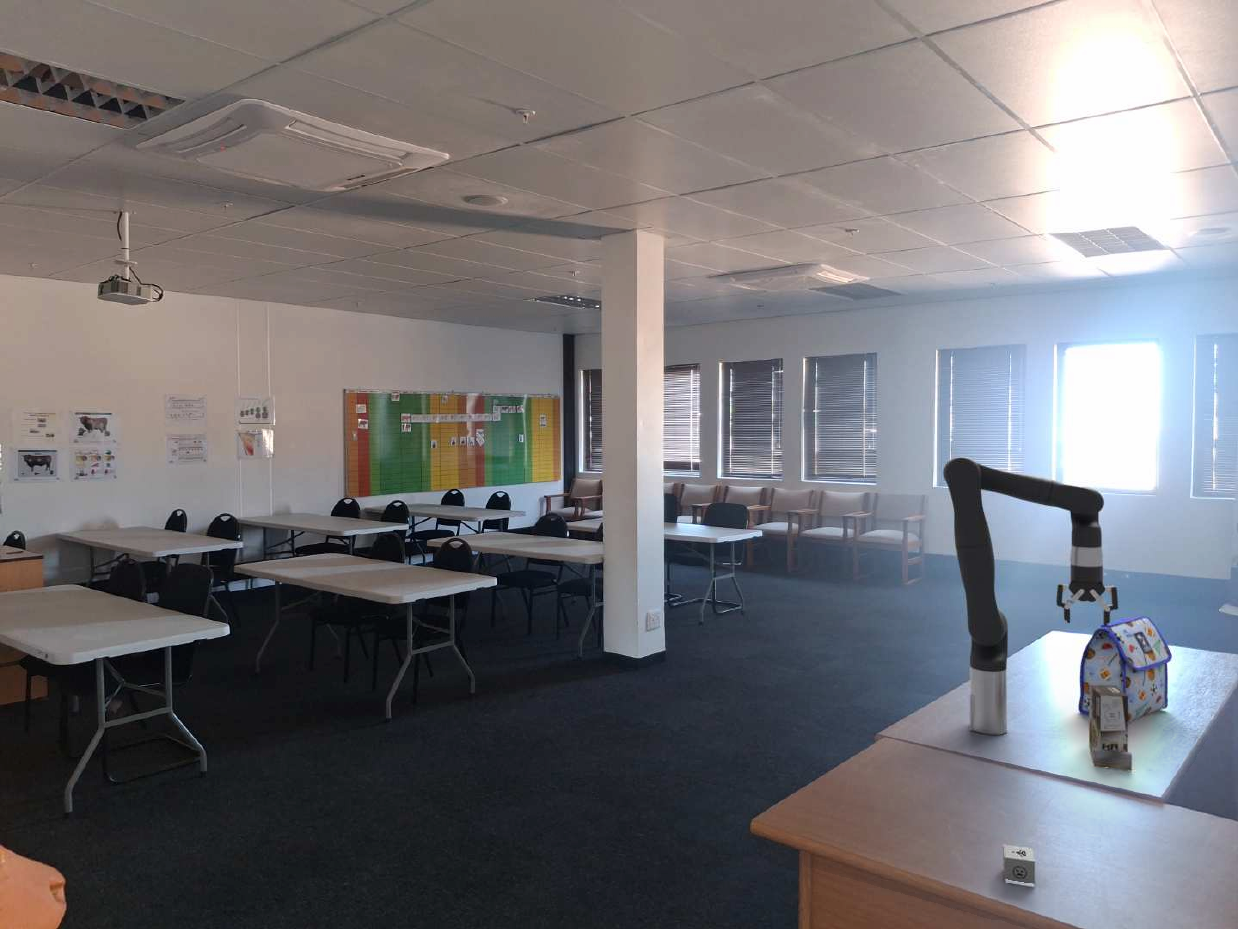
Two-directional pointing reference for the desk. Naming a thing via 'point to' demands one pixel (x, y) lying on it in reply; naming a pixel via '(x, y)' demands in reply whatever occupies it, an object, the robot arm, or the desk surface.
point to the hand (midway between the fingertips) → (1086, 623)
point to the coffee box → (1108, 718)
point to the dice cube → (1019, 864)
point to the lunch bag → (1127, 665)
